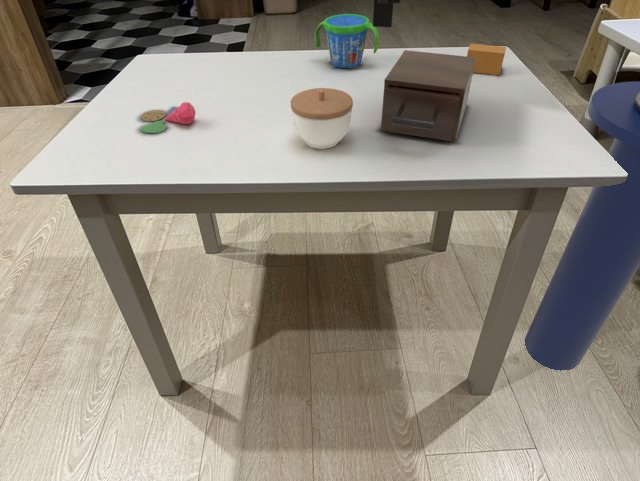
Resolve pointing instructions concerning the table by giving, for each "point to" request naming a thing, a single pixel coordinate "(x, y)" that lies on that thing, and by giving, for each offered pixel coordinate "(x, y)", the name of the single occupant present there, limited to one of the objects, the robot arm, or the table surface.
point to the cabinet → (434, 77)
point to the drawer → (420, 112)
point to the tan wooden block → (487, 58)
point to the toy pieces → (168, 117)
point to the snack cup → (346, 38)
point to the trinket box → (322, 116)
